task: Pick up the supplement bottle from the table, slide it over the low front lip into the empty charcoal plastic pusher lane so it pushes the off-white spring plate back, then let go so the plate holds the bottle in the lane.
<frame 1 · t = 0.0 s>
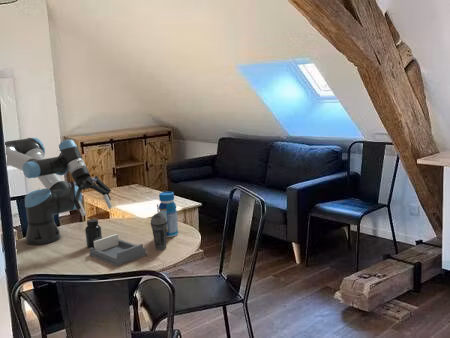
hand: (97, 211, 217), 15 cm above the table, tool tilted 35°, fingers open, 13 cm apart
beverage bottle: (169, 235, 227), on the table
supplement bottle: (95, 246, 217), on the table
pusher lane: (117, 254, 205), on the table
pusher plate: (106, 243, 210), point 4 cm above the table, slide at 0.0 cm
beverage cup: (161, 248, 210), on the table
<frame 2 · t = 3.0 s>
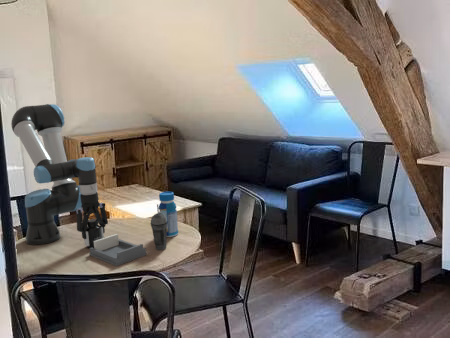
hand: (94, 242, 217), 2 cm above the table, tool pointing down, fingers closed on supplement bottle, 7 cm apart
supplement bottle: (95, 246, 217), on the table, touching gripper
everything else where it was.
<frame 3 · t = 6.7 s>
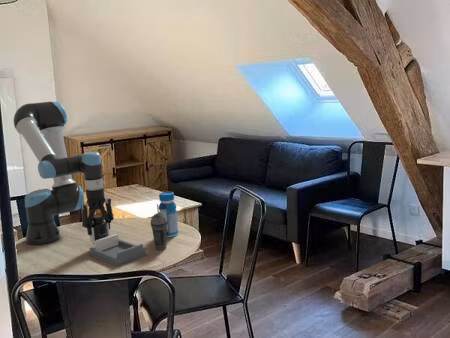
hand: (100, 239, 213), 4 cm above the table, tool pointing down, fingers closed on supplement bottle, 7 cm apart
supplement bottle: (100, 243, 213), point 3 cm above the table, touching gripper
everything else where it was.
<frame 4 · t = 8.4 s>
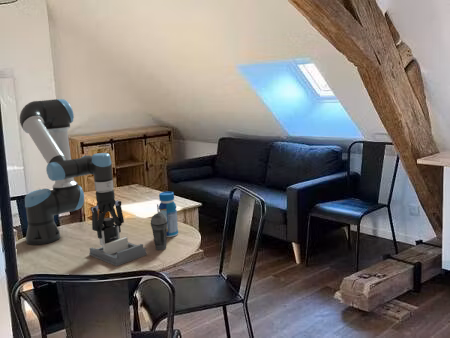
hand: (110, 242, 207), 4 cm above the table, tool pointing down, fingers closed on supplement bottle, 7 cm apart
supplement bottle: (110, 246, 208), point 3 cm above the table, touching gripper, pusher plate
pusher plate: (115, 246, 205), point 4 cm above the table, slide at 7.1 cm, touching supplement bottle
everything else where it was.
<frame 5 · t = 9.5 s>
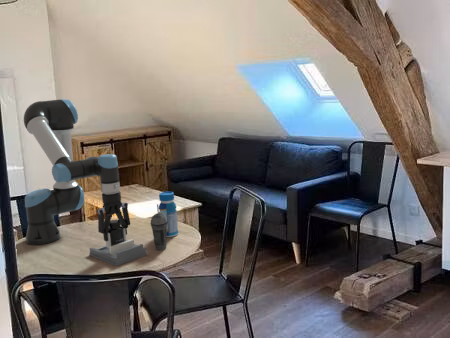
hand: (116, 245, 204), 4 cm above the table, tool pointing down, fingers closed on supplement bottle, 7 cm apart
supplement bottle: (117, 249, 205), point 3 cm above the table, touching gripper, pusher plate
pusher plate: (122, 248, 202), point 4 cm above the table, slide at 11.7 cm, touching supplement bottle
everything else where it was.
when the fingers open (4 cm above the table, at t = 10.7 s): supplement bottle drops 1 cm, resting on pusher lane, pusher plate.
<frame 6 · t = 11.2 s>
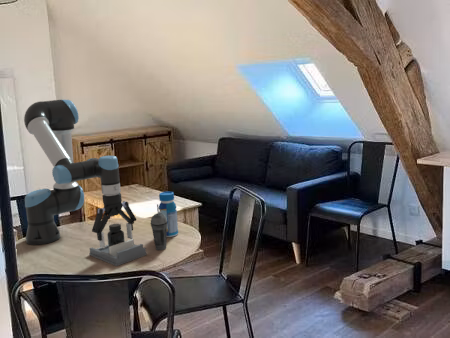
hand: (116, 242, 204), 5 cm above the table, tool pointing down, fingers open, 13 cm apart
supplement bottle: (117, 252, 205), point 1 cm above the table, touching pusher lane, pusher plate
everything else where it was.
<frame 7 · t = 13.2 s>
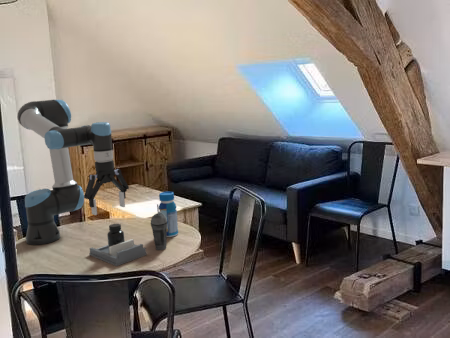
hand: (108, 210, 203), 19 cm above the table, tool pointing down, fingers open, 13 cm apart
nothing on the table moved.
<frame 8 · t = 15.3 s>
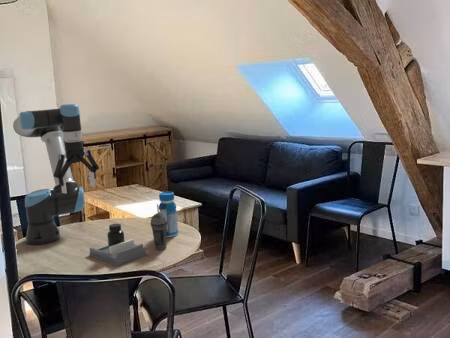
hand: (79, 189, 210), 27 cm above the table, tool pointing down, fingers open, 13 cm apart
nothing on the table moved.
at the end: supplement bottle inside the target area (1.9 cm from its centre), point 0.8 cm above the table; supplement bottle tilted 0°; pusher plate slide at 11.6 cm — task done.
